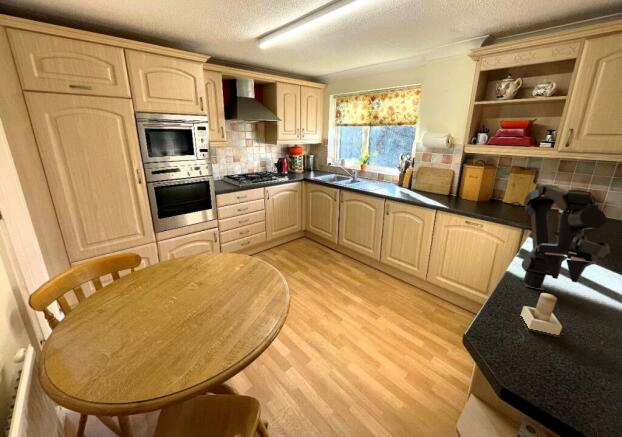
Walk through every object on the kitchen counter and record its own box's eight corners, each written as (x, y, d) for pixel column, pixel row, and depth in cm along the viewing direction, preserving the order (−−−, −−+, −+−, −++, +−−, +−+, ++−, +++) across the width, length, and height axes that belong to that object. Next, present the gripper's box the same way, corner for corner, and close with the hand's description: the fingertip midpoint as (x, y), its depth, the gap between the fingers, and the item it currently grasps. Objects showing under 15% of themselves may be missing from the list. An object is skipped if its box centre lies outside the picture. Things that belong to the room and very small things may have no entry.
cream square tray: (520, 316, 84) (523, 305, 83) (547, 322, 82) (551, 311, 80) (528, 330, 78) (532, 319, 77) (557, 338, 76) (562, 326, 74)
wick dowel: (530, 319, 82) (540, 291, 79) (545, 324, 80) (556, 296, 77) (531, 325, 79) (540, 297, 76) (546, 331, 77) (557, 302, 74)
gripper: (584, 226, 73) (578, 282, 72) (624, 237, 79) (619, 290, 77) (539, 225, 84) (533, 274, 82) (576, 235, 89) (571, 281, 88)
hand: (564, 280), depth 82 cm, fingers open, 9 cm apart
